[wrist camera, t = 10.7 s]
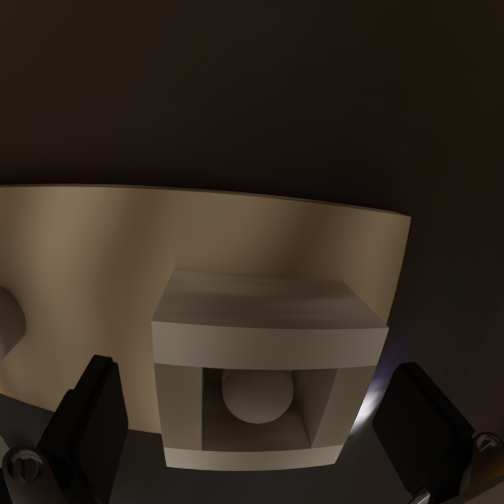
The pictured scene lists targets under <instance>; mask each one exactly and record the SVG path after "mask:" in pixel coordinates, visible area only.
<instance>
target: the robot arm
mask: <svg viewBox="0 0 504 504" xmlns="http://www.w3.org/2000/svg"><path fill="white" fill-rule="evenodd" d="M128 424H129V421H128V415H127V411H126V406H125V401H124V395H123V390H122V384H121V379H120V372H119V366H118V363H117V362H113V359H112V357H108V356H102V355H96V354H95V355H94V356H93V357H92V358H91V360H90V362H89V364H88V365H87V367H86V369H85V370H84V372H83V374H82V376H81V377H80V379H79V381H78V383H77V384H76V386H75V388H74V389H69V390H68V391H67V392H66V393H65V395H64V397H63V399H62V400H61V402H60V404H59V406H58V407H57V409H56V411H55V413H54V415H53V416H52V418H51V420H50V422H49V424H48V426H47V428H46V429H45V431H44V433H43V435H42V437H41V439H40V441H39V443H38V445H37V447H36V448H34V447H32V446H27V445H21V446H16V447H13V448H11V449H10V450H9V451H7V452H6V454H5V455H4V457H3V459H2V463H1V464H2V467H0V504H108V503H109V499H110V495H111V491H112V487H113V483H114V479H115V475H116V471H117V467H118V463H119V459H120V456H121V452H122V448H123V445H124V441H125V438H126V434H127V431H128ZM372 424H373V429H374V431H375V433H376V434H377V436H378V438H379V440H380V442H381V444H382V446H383V447H384V449H385V451H386V453H387V455H388V457H389V459H390V460H391V462H392V464H393V466H394V468H395V470H396V472H397V474H398V475H399V477H400V479H401V481H402V483H403V485H404V487H405V489H406V490H407V491H408V492H411V494H412V496H413V498H416V497H417V498H416V499H414V500H413V501H412V502H411V503H410V504H504V443H503V441H502V440H501V439H500V438H499V437H498V436H497V435H495V434H493V433H490V432H481V433H479V434H477V435H476V436H475V438H474V439H473V438H472V437H471V436H472V435H473V433H474V432H475V430H474V429H473V427H472V426H471V425H470V424H469V423H468V421H467V420H466V419H465V418H464V417H463V415H462V414H461V413H460V412H459V411H458V410H457V408H456V407H455V406H454V405H453V404H452V403H451V401H450V400H449V399H448V398H447V397H446V396H445V394H444V393H443V392H442V391H441V390H440V389H439V388H438V386H437V385H436V384H435V383H434V382H433V381H432V380H431V378H430V377H429V376H428V375H427V374H426V373H425V372H424V371H423V369H422V368H421V367H420V366H419V365H418V364H417V363H416V362H410V363H402V364H400V365H399V366H398V368H396V369H395V371H394V373H393V375H392V378H391V380H390V383H389V385H388V388H387V390H386V392H385V395H384V397H383V399H382V402H381V404H380V406H379V408H378V410H377V413H376V415H375V417H374V419H373V423H372Z"/></svg>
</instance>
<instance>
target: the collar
mask: <svg viewBox="0 0 504 504" xmlns="http://www.w3.org/2000/svg"><path fill="white" fill-rule="evenodd" d="M151 326H152V344H153V358H154V371H155V382H156V392H157V401H158V409H159V417H160V425H161V432H162V439H163V446H164V452H165V458H166V464H167V467H176V468H187V469H201V470H225V471H254V470H278V469H292V468H303V467H312V466H320V465H328V464H334V463H335V461H336V459H337V458H338V456H339V454H340V451H341V449H342V447H343V445H344V443H345V441H346V439H347V437H348V435H349V433H350V430H351V428H352V426H353V424H354V421H355V419H356V417H357V415H358V412H359V410H360V407H361V405H362V403H363V400H364V398H365V395H366V393H367V390H368V388H369V385H370V382H371V380H372V377H373V374H374V372H375V369H376V366H377V363H378V360H379V357H380V354H381V352H382V349H383V345H384V342H385V339H386V336H387V333H388V330H389V327H388V326H387V325H386V324H385V323H384V322H383V321H382V320H381V319H380V318H379V317H378V316H377V315H376V314H375V313H374V312H373V311H372V310H371V309H370V308H369V307H368V306H367V305H366V304H365V303H364V302H363V301H362V300H361V299H360V298H359V297H358V296H357V295H356V294H355V293H354V292H353V291H352V290H351V289H350V288H349V287H348V286H347V285H346V284H345V283H344V282H343V281H342V280H341V279H322V278H303V277H285V276H269V275H252V274H237V273H222V272H208V271H194V270H181V269H174V270H173V272H172V274H171V277H170V279H169V281H168V283H167V286H166V288H165V290H164V292H163V295H162V297H161V299H160V302H159V304H158V306H157V309H156V311H155V313H154V316H153V318H152V320H151ZM205 367H206V368H224V369H252V370H293V371H292V376H291V377H292V380H293V385H294V394H293V399H292V401H291V404H290V406H289V407H288V409H287V410H286V411H285V412H284V413H283V414H282V415H281V416H280V417H278V418H277V419H275V420H273V421H270V422H267V423H261V424H254V423H249V422H245V421H243V420H241V419H239V418H237V417H236V416H235V415H233V414H232V413H231V412H230V410H229V409H228V408H227V406H226V404H225V402H224V399H223V395H222V382H214V381H205Z"/></svg>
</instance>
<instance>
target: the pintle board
mask: <svg viewBox="0 0 504 504" xmlns="http://www.w3.org/2000/svg"><path fill="white" fill-rule="evenodd" d="M410 220H411V217H409V216H406V215H403V214H400V213H396V212H393V211H387V210H381V209H374V208H368V207H361V206H354V205H347V204H340V203H333V202H325V201H317V200H309V199H301V198H292V197H283V196H274V195H264V194H254V193H244V192H232V191H220V190H208V189H194V188H178V187H160V186H139V185H110V184H15V185H0V393H2V394H4V395H7V396H10V397H12V398H15V399H18V400H20V401H23V402H26V403H29V404H32V405H35V406H38V407H41V408H44V409H47V410H51V411H54V412H55V411H56V409H57V407H58V406H59V404H60V402H61V400H62V399H63V397H64V395H65V393H66V392H67V391H68V390H69V389H74V388H75V386H76V384H77V383H78V381H79V379H80V377H81V376H82V374H83V372H84V370H85V369H86V367H87V365H88V364H89V362H90V360H91V358H92V357H93V356H94V355H95V354H96V355H102V356H108V357H112V359H113V362H117V363H118V366H119V372H120V379H121V384H122V390H123V395H124V401H125V406H126V411H127V415H128V421H129V424H128V429H133V430H139V431H146V432H153V433H161V434H162V432H161V425H160V417H159V409H158V401H157V392H156V382H155V371H154V358H153V344H152V326H151V320H152V318H153V316H154V313H155V311H156V309H157V306H158V304H159V302H160V299H161V297H162V295H163V292H164V290H165V288H166V286H167V283H168V281H169V279H170V277H171V274H172V272H173V270H174V269H181V270H194V271H208V272H222V273H237V274H252V275H269V276H285V277H303V278H322V279H341V280H342V281H343V282H344V283H345V284H346V285H347V286H348V287H349V288H350V289H351V290H352V291H353V292H354V293H355V294H356V295H357V296H358V297H359V298H360V299H361V300H362V301H363V302H364V303H365V304H366V305H367V306H368V307H369V308H370V309H371V310H372V311H373V312H374V313H375V314H376V315H377V316H378V317H379V318H380V319H381V320H382V321H383V322H384V323H385V324H386V323H387V320H388V316H389V313H390V309H391V306H392V302H393V298H394V295H395V291H396V287H397V283H398V279H399V274H400V270H401V266H402V261H403V257H404V252H405V247H406V242H407V237H408V232H409V226H410ZM292 371H293V370H252V369H224V368H206V367H205V381H214V382H222V395H223V399H224V402H225V404H226V406H227V408H228V409H229V410H230V412H231V413H232V414H233V415H235V416H236V417H237V418H239V419H241V420H243V421H245V422H249V423H254V424H261V423H267V422H270V421H273V420H275V419H277V418H278V417H280V416H281V415H282V414H283V413H284V412H285V411H286V410H287V409H288V407H289V406H290V404H291V401H292V399H293V394H294V385H293V380H292V377H291V376H292Z"/></svg>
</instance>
